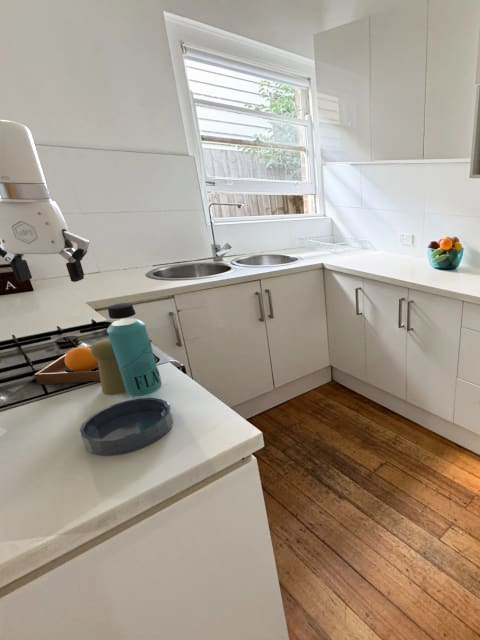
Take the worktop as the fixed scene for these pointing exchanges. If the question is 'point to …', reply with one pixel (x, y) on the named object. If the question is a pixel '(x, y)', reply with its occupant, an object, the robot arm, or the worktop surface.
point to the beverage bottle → (133, 351)
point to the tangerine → (80, 359)
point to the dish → (127, 426)
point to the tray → (64, 374)
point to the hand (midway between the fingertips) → (51, 280)
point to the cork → (108, 367)
